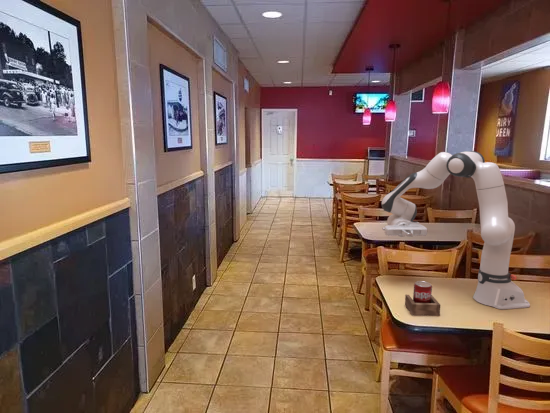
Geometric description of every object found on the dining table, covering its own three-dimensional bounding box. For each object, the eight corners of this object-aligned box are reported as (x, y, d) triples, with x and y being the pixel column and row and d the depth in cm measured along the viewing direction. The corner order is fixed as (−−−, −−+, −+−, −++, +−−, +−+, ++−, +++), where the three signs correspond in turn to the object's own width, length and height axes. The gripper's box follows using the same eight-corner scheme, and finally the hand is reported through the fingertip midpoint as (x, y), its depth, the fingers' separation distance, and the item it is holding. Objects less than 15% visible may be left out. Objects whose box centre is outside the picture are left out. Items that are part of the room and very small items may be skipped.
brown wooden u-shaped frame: (430, 305, 171) (431, 294, 170) (439, 315, 161) (440, 304, 160) (404, 304, 171) (405, 294, 170) (411, 315, 161) (412, 304, 161)
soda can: (432, 314, 163) (434, 287, 160) (414, 313, 164) (416, 286, 161) (427, 306, 170) (429, 281, 168) (410, 305, 171) (412, 280, 168)
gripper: (381, 221, 196) (388, 228, 182) (421, 222, 195) (431, 228, 182) (381, 233, 197) (387, 241, 184) (421, 233, 196) (430, 241, 183)
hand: (410, 234), depth 183 cm, fingers closed
